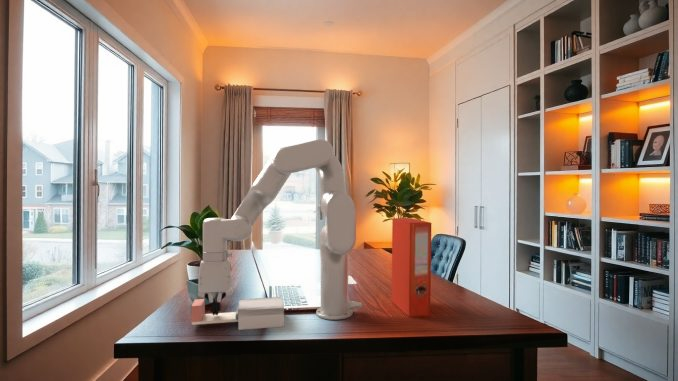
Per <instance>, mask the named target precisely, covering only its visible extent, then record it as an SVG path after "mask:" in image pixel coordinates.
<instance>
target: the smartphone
mask: <svg viewBox="0 0 678 381" xmlns="http://www.w3.org/2000/svg"><path fill="white" fill-rule="evenodd" d="M357 284H358V283H357V281H356V280H355V279H354V278H353V277H352V275H348V286H349V285H357Z"/></svg>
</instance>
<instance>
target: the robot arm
mask: <svg viewBox="0 0 678 381" xmlns="http://www.w3.org/2000/svg"><path fill="white" fill-rule="evenodd" d="M311 169H315V170H316V172H317V173H318V174H317V175H318V178H319V190H320V192H319V195H320V203H319V204H320V211H321V213H322V214H323V216H324V217H326V224H325V225H324V226H323V227H322V228H321V230H320V232H319V238H318V240H319V241H318V243H319V250H320V253H319V254H320V307H318V308H317V309H316V312H315V313H316V316H318V317H319V318H321V319H324V320H331V321H332V320H333V321H335V320H344V319H348V318H350V317H352V316H353V313H354V312H353V309H361V308H363V304H362V301H361V302H360V301H356V300H353V301H350V300H349V285H348V276H349V253H350V252H351V251H352V250H354V247H355V245H356V240H357V228H356V227H357V226H356V221H357V220H356V207H355V203H354V200H353V199H352V197H351V196H350V195H349V194H348V193H346V186H345V183H346V182H345V176H344V174H345V173H344V170H343V167H342V164H341V162H340V161H339V159H338V157H337V156H336V155H335V151H334V146H332V144H331V143H330V142H329V141H327V140H325V139H315V140H311V141H307V142H303V143H298V144H293V145H288V146H284V147H280V148H278V149H277V150H276V151H274V152H273V154H272V155H271V156H270V158H269V160H268V161H267V162H266V163H265V166H264V167H263V168H262V169H261V171H260V173H259V174H258V176H257V178H256V179H255V180H254V182H253V183H252V185H251V187H250V188H249V190H248V192H247V193H246V195H245V196H244V198H243V200H242V201H241V203H240V204H239V206H238V207H237V209H236V211H235V212H234V214H233V215H232V216H231V218H229V219H227V218H224V217H208V218H204V220H203V221H202V260H201V261H200V263H199V270H198V278H199V281H198V290H199V291H198V296H199V297H205V298H206V299H207V300H208V301H209V302H210V304H209V305H210V306H209V307H210V310H209V311H210V313H211V314H213V315H218V313H220V312H221V311H222V310H221V308H222V306H221V302H222V301H223V299H224V298H225V297H229V296H231V295H233V294H234V293H233V292H234V291H233V274H232V273H233V272H232V270H233V269H232V263H231V260H230V259H229V258H230V257H231V258H232V257H233V252H230V251H228V250H229V249H228V241H233V242H242V241H243V242H244V241H246V240H248V239H249V238H250V236H251V235H252V232H253V226H254V224H255V223H256V221H257V219H258V218H259V216H260V215H261V214H262V213H263V211H264V210H265V209H266V208H267V207H268V206H269V205H270V204H271V203H273V201H274V200H275V199H276V197H278V195H279V193H280V191H281V190H282V188H283V186H284V185H285V184H286V183H287V181H288V178H290V176H291V174H295V173H299V172H302V171H307V170H311ZM213 293H217V296H216V297H217V298H215V299H214V295H213Z"/></svg>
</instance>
